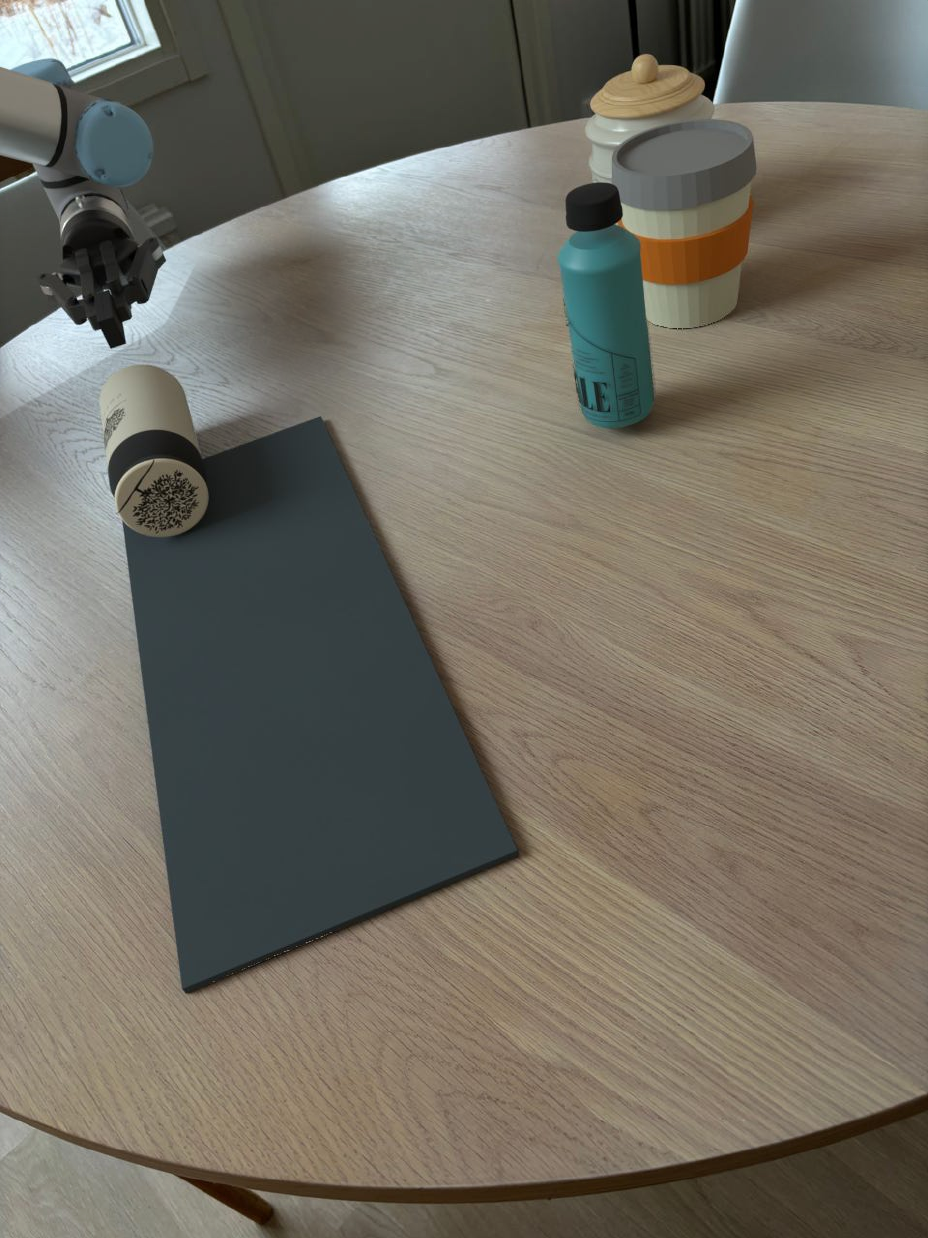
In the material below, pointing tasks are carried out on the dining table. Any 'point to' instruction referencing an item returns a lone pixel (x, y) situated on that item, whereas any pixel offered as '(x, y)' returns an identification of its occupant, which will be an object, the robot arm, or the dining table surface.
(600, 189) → the beverage bottle
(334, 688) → the mat
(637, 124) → the jar
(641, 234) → the reusable coffee cup
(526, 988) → the dining table surface
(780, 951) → the dining table surface
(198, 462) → the travel mug
